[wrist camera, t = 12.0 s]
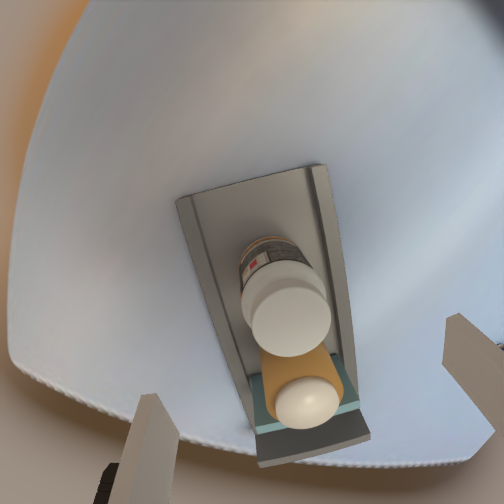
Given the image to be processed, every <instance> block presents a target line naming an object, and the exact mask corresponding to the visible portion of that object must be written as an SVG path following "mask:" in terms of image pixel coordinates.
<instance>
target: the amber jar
mask: <svg viewBox="0 0 504 504" xmlns="http://www.w3.org/2000/svg"><path fill="white" fill-rule="evenodd" d="M258 346H259V354H260V362H261V369H262V377H263V385H264V392H265V400H266V406H267V410H268V412H269V413H270V415H271V416H272V417H273V418H275V419H276V420H278V421H280V422H281V423H282V424H283V425H285V426H287V427H290V428H294V429H308V428H312V427H316V426H318V425H321V424H323V423H324V422H326V421H327V420H329V419H330V418H331V417H332V416H333V415H334V414H335V412H336V411H337V409H338V406H339V404H340V402H341V400H342V397H343V393H344V388H343V384H342V382H341V380H340V377H339V375H338V373H337V371H336V368H335V366H334V364H333V362H332V360H331V357H330V355H329V353H328V351H327V349H326V346H325V344H324V342H323V341H322V342H321V343H320V344H319V345H318V346H317V347H315V348H314V349H312V350H311V351H309V352H307V353H304V354H302V355H298V356H293V357H282V356H277V355H273V354H271V353H269V352H267V351H265V350H264V349H263V348H262V347H261V346H260V345H259V344H258Z"/></svg>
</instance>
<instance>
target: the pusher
mask: <svg viewBox="0 0 504 504" xmlns="http://www.w3.org/2000/svg"><path fill="white" fill-rule="evenodd" d="M330 357H331V360H332V362H333V364H334V366H335V368H336V371H337V373H338V375H339V377H340V380H341V382H342V384H343V388H344V393H343V397H342V400H341V402H340V404H339V406H338V409H337V411H336V412H335V414H334V415H333V416H335V415H338V414H342V413H345V412H348V411H351V410H354V409H358V408H360V399H359V397H358V395H357V393H356V391H355V389H354V387H353V385H352V383H351V381H350V379H349V376H348V374H347V372H346V370H345V368H344V366H343V364H342V362H341V360H340V358H339V356H338V354H337V355H333V356H330ZM251 384H252V396H253V408H254V420H255V428H256V430H257V433H258V434H261V433H266V432H271V431H276V430H280V429H285V428H289V427H287V426H285V425H283V424H282V423H281V422H280V421H278V420H276V419H275V418H273V417H272V416H271V415H270V413H269V412H268V410H267V406H266V400H265V392H264V385H263V377H262V374H259V375H255V376H251Z"/></svg>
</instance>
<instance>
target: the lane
mask: <svg viewBox="0 0 504 504" xmlns="http://www.w3.org/2000/svg"><path fill="white" fill-rule="evenodd" d="M175 204H176V207H177V211H178V214H179V218H180V221H181V224H182V228H183V231H184V234H185V238H186V241H187V244H188V247H189V251H190V254H191V257H192V260H193V263H194V267H195V270H196V273H197V276H198V279H199V282H200V285H201V288H202V291H203V294H204V297H205V300H206V303H207V306H208V309H209V312H210V315H211V318H212V321H213V324H214V327H215V330H216V333H217V336H218V338H219V341H220V344H221V347H222V350H223V352H224V355H225V358H226V361H227V364H228V366H229V369H230V372H231V374H232V377H233V380H234V382H235V385H236V388H237V390H238V393H239V396H240V398H241V401H242V403H243V406H244V409H245V411H246V414H247V416H248V419H249V421H250V424H251V426H252V429H253V431H254V434H255V439H256V451H257V462H258V464H259V467H260V468H263V467H268V466H273V465H279V464H283V463H288V462H293V461H297V460H302V459H306V458H310V457H314V456H318V455H322V454H325V453H329V452H333V451H336V450H339V449H343V448H346V447H349V446H353V445H356V444H359V443H362V442H365V441H368V440H370V431H369V429H368V427H367V425H366V422H365V420H364V418H363V416H362V414H361V411H360V409H359V408H358V409H354V410H351V411H348V412H345V413H342V414H338V415H335V416H332V417H331V418H330V419H329V420H327V421H326V422H324V423H323V424H321V425H318V426H316V427H312V428H308V429H294V428H290V427H289V428H285V429H280V430H276V431H271V432H266V433H261V434H258V433H257V430H256V428H255V420H254V408H253V396H252V384H251V376H255V375H259V374H262V369H261V362H260V354H259V346H258V343H257V342H256V340H255V338H254V336H253V333H252V329H251V328H250V326H249V325H248V324H247V322H246V320H245V318H244V316H243V312H242V307H241V296H240V286H239V262H240V259H241V257H242V255H243V253H244V251H245V250H246V249H247V248H248V246H250V245H251V244H252V243H253V242H255V241H256V240H258V239H261V238H264V237H269V236H278V237H283V238H286V239H288V240H290V241H292V242H293V243H294V244H296V245H297V246H298V247H299V248H300V250H301V251H302V252H303V253H304V255H305V256H306V258H307V259H308V261H309V262H310V263H311V265H312V266H313V267H314V269H315V270H316V272H317V273H318V274H319V276H320V278H321V279H322V281H323V283H324V286H325V291H326V301H327V303H328V305H329V308H330V311H331V324H330V328H329V331H328V333H327V335H326V337H325V338H324V339H323V342H324V344H325V346H326V349H327V351H328V353H329V355H330V356H333V355H337V354H338V356H339V358H340V360H341V362H342V364H343V366H344V368H345V370H346V372H347V374H348V376H349V379H350V381H351V383H352V385H353V387H354V389H355V391H356V393H357V395H358V380H357V367H356V356H355V345H354V335H353V326H352V317H351V309H350V301H349V293H348V286H347V279H346V272H345V265H344V258H343V252H342V246H341V240H340V234H339V228H338V222H337V217H336V211H335V206H334V201H333V196H332V190H331V185H330V181H329V176H328V171H327V166H326V164H316V165H311V166H306V167H302V168H297V169H293V170H288V171H284V172H280V173H275V174H271V175H267V176H263V177H259V178H254V179H250V180H246V181H242V182H238V183H235V184H231V185H227V186H223V187H219V188H215V189H212V190H208V191H204V192H201V193H197V194H193V195H190V196H186V197H183V198H179V199H178V200H177V201H175ZM358 397H359V395H358Z"/></svg>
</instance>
